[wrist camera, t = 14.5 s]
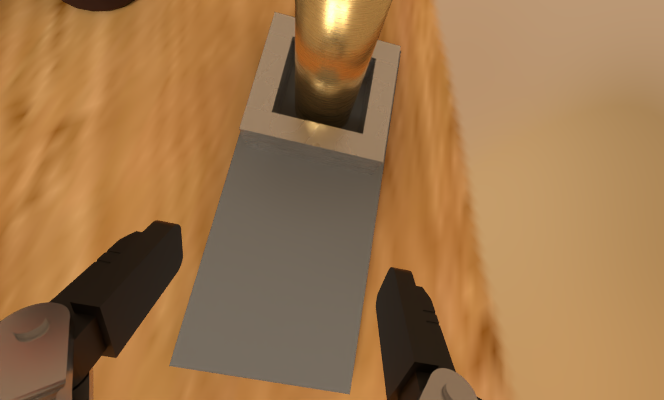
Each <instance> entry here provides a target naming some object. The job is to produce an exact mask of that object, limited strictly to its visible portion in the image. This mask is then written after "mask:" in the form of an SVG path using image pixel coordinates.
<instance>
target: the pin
mask: <svg viewBox="0 0 664 400" xmlns="http://www.w3.org/2000/svg"><path fill="white" fill-rule="evenodd" d="M391 2H392V0H295V112H296V115H297V117H298V119H303V120H307V121H311V122H315V123H319V124H323V125H328V126H332V127H336V128H342V127H343V126H344V125H345V124H346V123H347V121H348V119H349V117H350V114H351V111H352V109H353V106H354V103H355V101H356V98H357V95H358V92H359V90H360V87H361V84H362V81H363V79H364V76H365V73H366V70H367V68H368V65H369V62H370V60H371V57H372V54H373V51H374V49H375V46H376V43H377V40H378V38H379V35H380V32H381V30H382V27H383V24H384V21H385V19H386V16H387V13H388V10H389V8H390V5H391Z"/></svg>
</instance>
